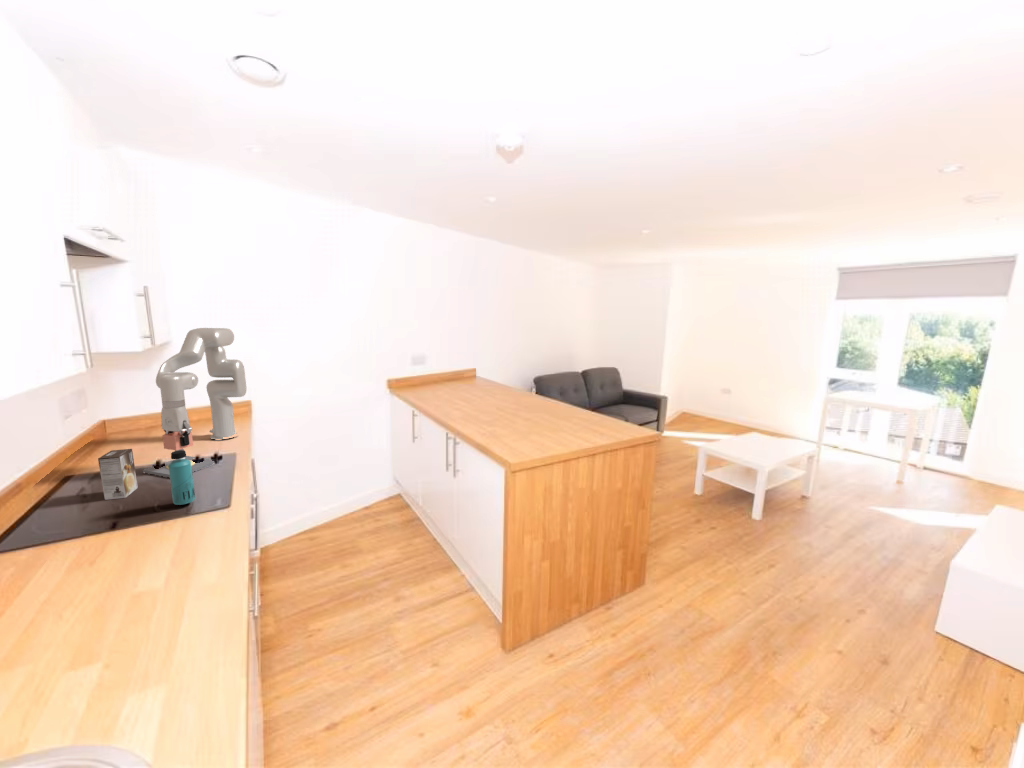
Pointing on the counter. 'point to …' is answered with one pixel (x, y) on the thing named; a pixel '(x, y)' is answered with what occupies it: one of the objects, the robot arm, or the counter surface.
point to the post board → (166, 471)
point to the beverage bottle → (181, 479)
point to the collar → (175, 441)
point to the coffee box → (118, 474)
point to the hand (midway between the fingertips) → (178, 444)
